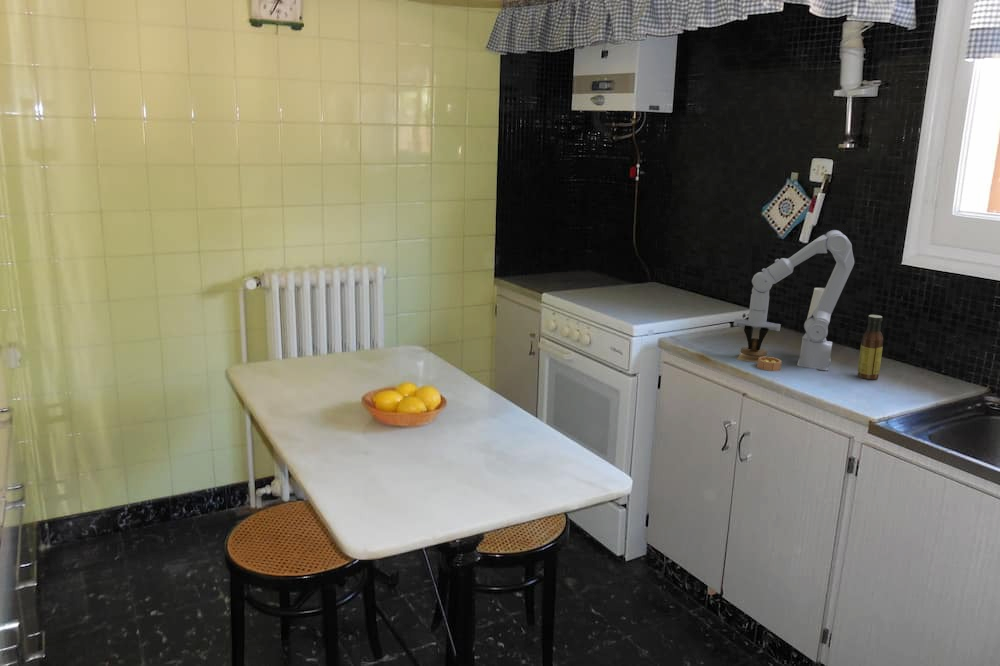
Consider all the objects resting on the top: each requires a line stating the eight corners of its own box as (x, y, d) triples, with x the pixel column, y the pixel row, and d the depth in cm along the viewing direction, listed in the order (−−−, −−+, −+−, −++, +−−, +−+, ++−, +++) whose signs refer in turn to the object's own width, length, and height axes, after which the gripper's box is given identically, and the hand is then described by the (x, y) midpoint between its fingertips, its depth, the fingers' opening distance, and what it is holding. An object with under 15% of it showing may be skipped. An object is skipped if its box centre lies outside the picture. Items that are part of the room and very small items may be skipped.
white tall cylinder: (827, 361, 266) (837, 291, 260) (810, 362, 264) (820, 291, 258) (813, 355, 272) (823, 286, 266) (797, 356, 270) (806, 287, 264)
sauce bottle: (874, 374, 253) (884, 314, 248) (881, 380, 247) (891, 318, 242) (853, 373, 254) (862, 312, 249) (859, 379, 248) (869, 317, 243)
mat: (767, 358, 267) (768, 357, 267) (765, 364, 260) (765, 363, 260) (740, 354, 270) (740, 353, 270) (736, 360, 263) (737, 359, 263)
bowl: (781, 367, 257) (782, 358, 257) (779, 373, 251) (780, 364, 250) (758, 364, 260) (759, 355, 259) (756, 370, 254) (757, 361, 253)
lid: (768, 351, 266) (769, 337, 265) (765, 358, 259) (767, 343, 258) (742, 348, 270) (743, 334, 268) (738, 354, 262) (740, 340, 261)
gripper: (783, 309, 261) (778, 349, 265) (737, 304, 267) (733, 343, 270) (781, 313, 255) (776, 354, 259) (734, 308, 261) (730, 348, 264)
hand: (754, 349), depth 264 cm, fingers closed on lid, 2 cm apart
